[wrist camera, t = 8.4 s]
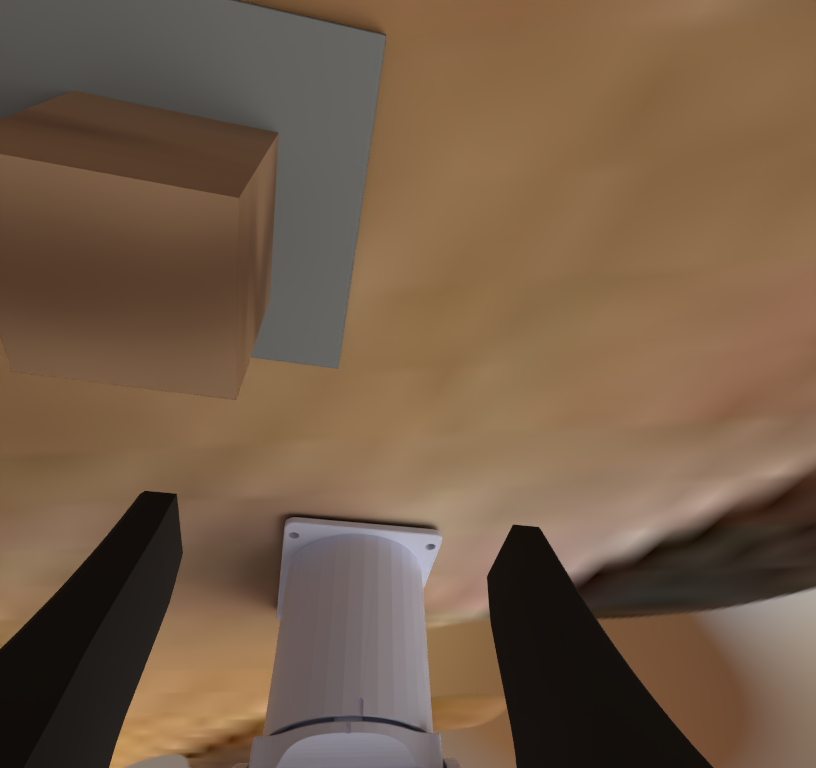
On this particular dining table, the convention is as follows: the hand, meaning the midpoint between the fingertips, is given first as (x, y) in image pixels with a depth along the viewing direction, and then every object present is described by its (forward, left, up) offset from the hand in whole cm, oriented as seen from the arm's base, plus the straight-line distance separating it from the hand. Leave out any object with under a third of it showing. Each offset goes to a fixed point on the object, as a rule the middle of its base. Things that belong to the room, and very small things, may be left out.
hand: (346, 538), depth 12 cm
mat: (+3, +6, -10) cm, 12 cm away
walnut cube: (+3, +6, -10) cm, 12 cm away
